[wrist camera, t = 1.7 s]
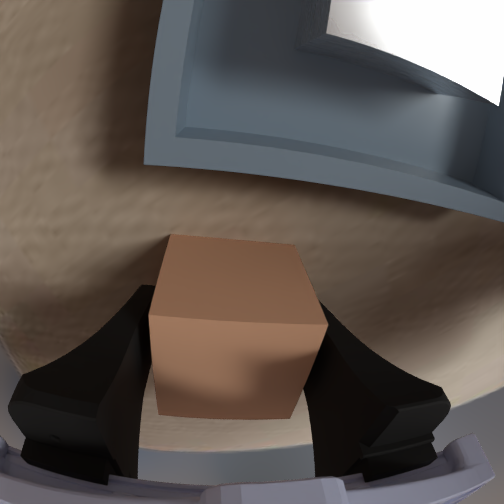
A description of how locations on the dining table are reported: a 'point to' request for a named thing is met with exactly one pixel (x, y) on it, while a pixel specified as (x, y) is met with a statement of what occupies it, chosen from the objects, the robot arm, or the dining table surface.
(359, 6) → the steel block
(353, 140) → the tote
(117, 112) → the dining table surface
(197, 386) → the carton
